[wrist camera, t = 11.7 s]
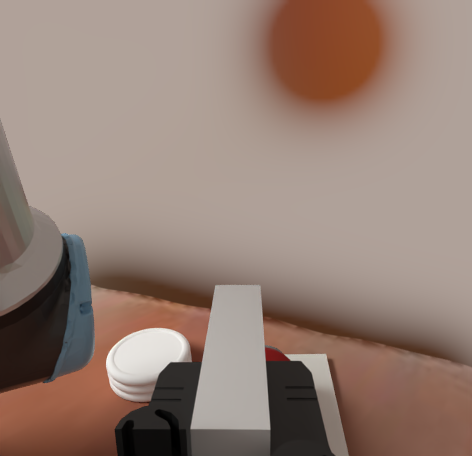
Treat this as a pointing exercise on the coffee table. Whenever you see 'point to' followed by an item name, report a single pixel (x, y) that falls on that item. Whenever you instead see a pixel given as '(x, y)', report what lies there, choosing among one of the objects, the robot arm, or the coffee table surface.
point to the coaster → (144, 361)
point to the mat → (325, 399)
